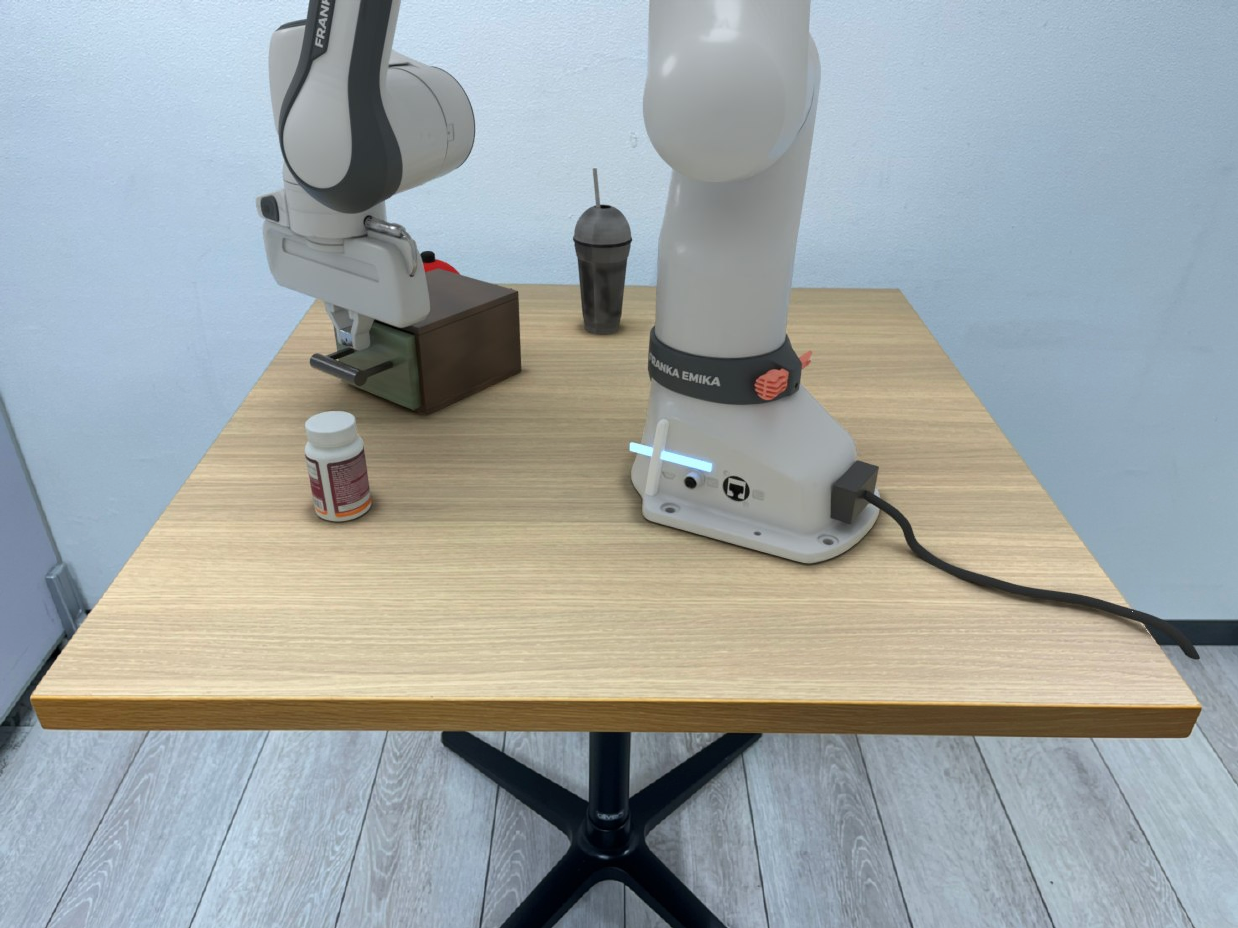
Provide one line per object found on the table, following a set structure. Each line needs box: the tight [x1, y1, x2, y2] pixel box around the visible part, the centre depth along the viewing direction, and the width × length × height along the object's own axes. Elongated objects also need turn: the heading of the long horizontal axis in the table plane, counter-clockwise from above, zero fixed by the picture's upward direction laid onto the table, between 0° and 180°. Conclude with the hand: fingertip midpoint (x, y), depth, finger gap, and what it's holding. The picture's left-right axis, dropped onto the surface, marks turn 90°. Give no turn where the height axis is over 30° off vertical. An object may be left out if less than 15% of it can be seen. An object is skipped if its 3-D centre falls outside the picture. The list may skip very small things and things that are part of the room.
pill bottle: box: [304, 410, 372, 522], centre depth 76 cm, size 5×5×8 cm
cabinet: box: [374, 269, 522, 416], centre depth 100 cm, size 15×13×10 cm
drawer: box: [309, 320, 421, 411], centre depth 97 cm, size 18×11×8 cm, turn 143°
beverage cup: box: [572, 167, 633, 336], centre depth 112 cm, size 7×7×20 cm
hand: (354, 346), depth 92 cm, fingers closed
